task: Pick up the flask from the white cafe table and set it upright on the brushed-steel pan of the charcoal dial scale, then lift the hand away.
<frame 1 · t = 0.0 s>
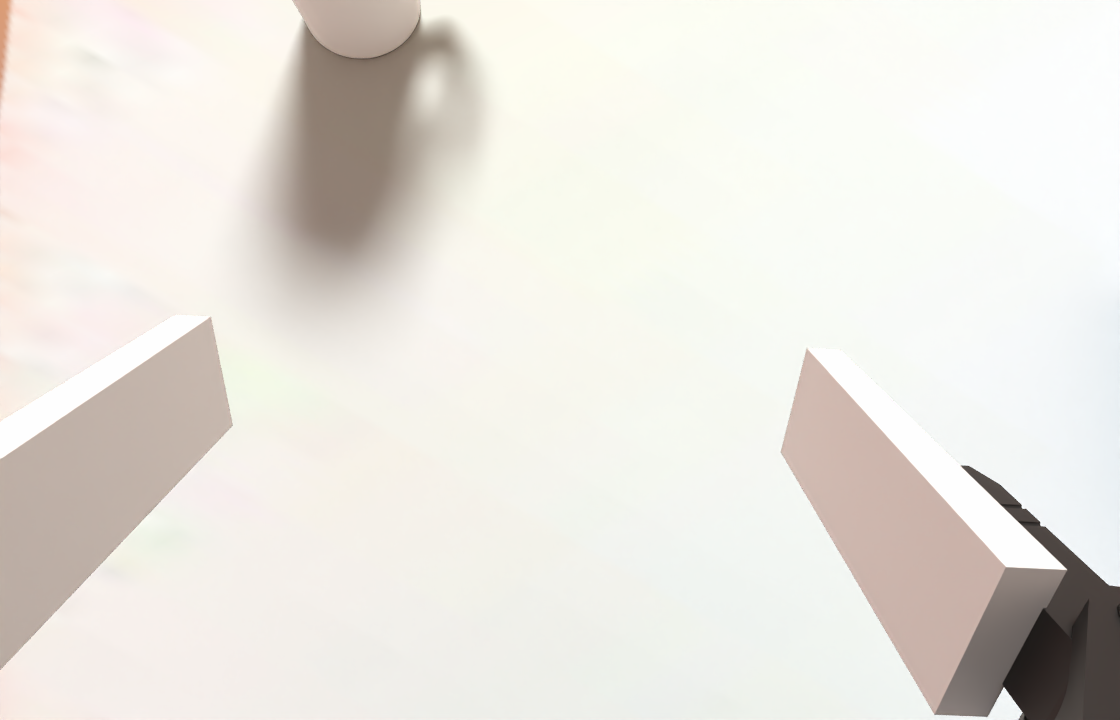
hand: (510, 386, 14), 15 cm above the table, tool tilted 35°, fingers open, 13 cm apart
mug: (393, 3, 33), on the table
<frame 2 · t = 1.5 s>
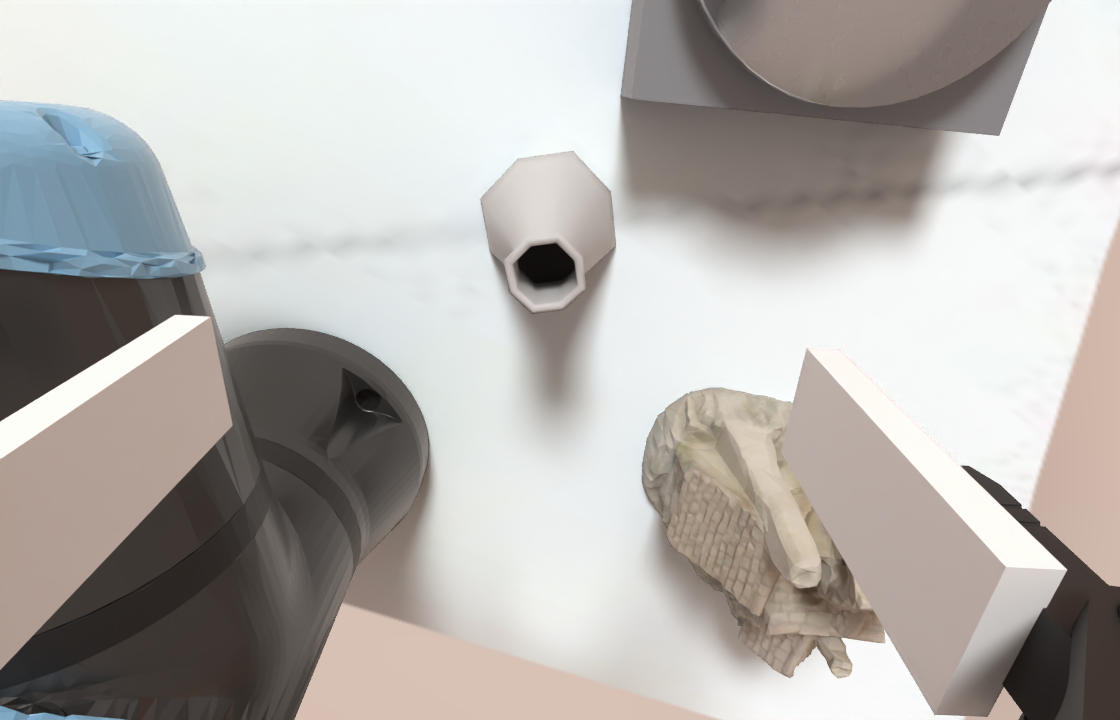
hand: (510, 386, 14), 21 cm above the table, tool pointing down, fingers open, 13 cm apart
flask: (549, 220, 33), on the table
ceramic cottage: (744, 494, 41), on the table
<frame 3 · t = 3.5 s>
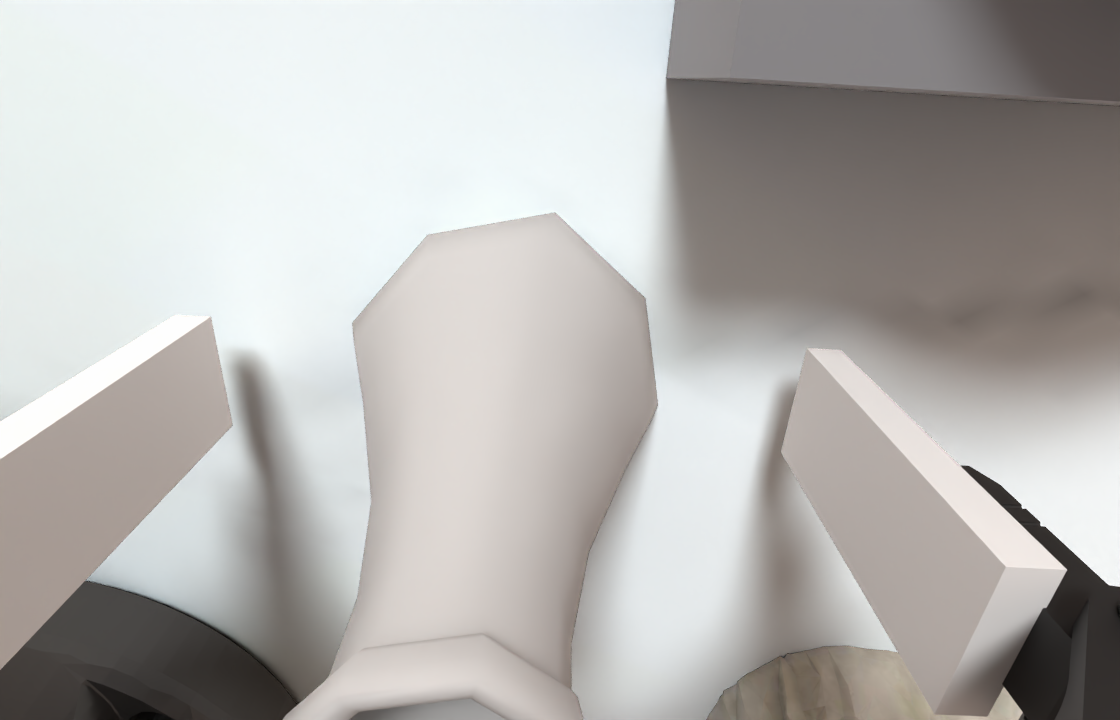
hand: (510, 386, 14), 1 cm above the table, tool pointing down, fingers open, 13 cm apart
flask: (511, 356, 15), on the table
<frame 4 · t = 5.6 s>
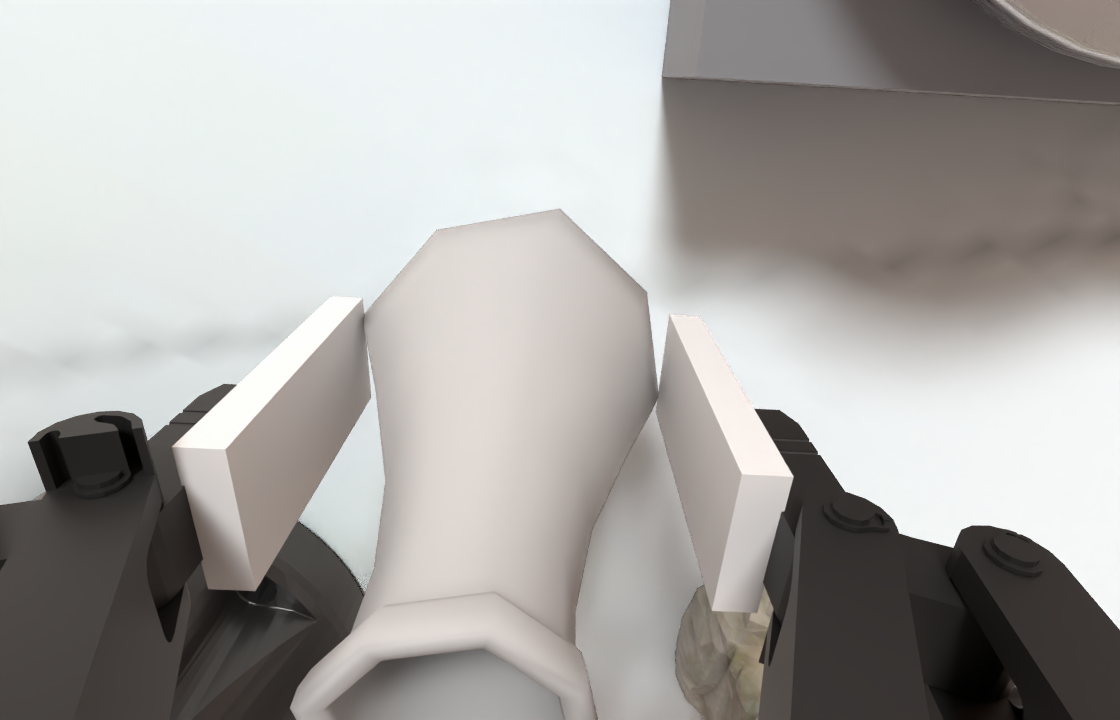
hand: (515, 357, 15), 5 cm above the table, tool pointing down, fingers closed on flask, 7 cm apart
flask: (516, 348, 16), point 4 cm above the table, touching gripper
ceramic cottage: (831, 684, 27), on the table
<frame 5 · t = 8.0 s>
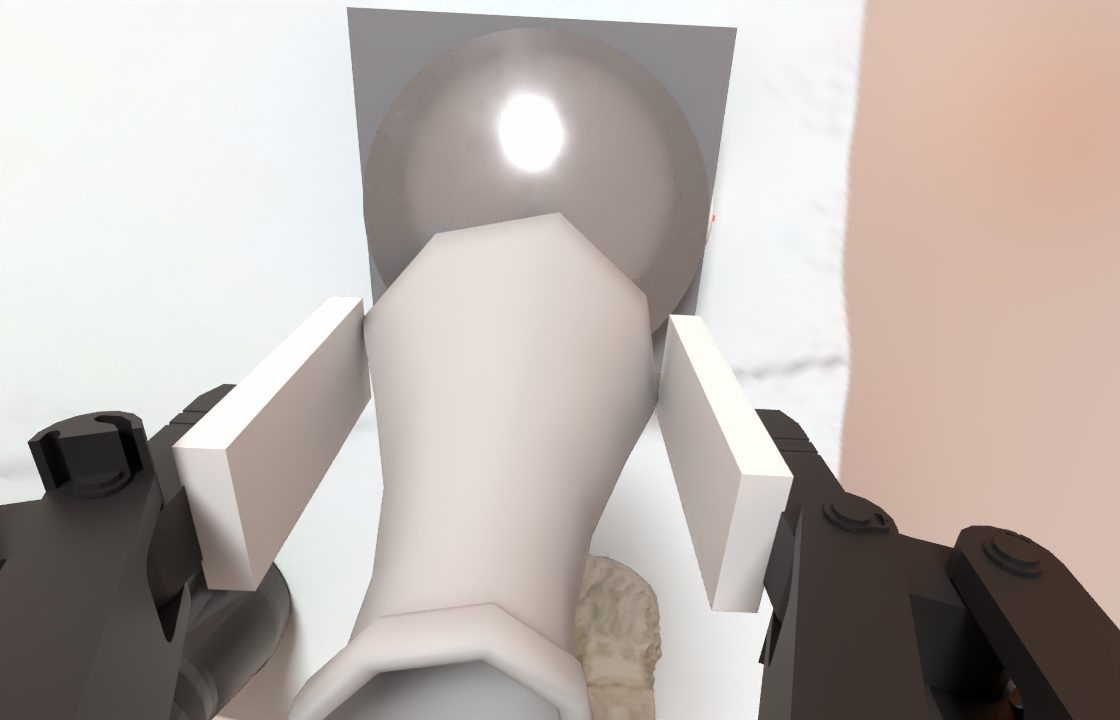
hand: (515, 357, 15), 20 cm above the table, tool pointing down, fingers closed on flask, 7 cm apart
scale pan: (537, 220, 27), point 6 cm above the table, slide at -1.0 cm
flask: (516, 352, 16), point 19 cm above the table, touching gripper
ceramic cottage: (555, 625, 46), on the table
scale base: (540, 196, 33), on the table
when the fingers open (9 cm above the table, at t = 10.8 s): flask drops 2 cm, resting on scale pan.
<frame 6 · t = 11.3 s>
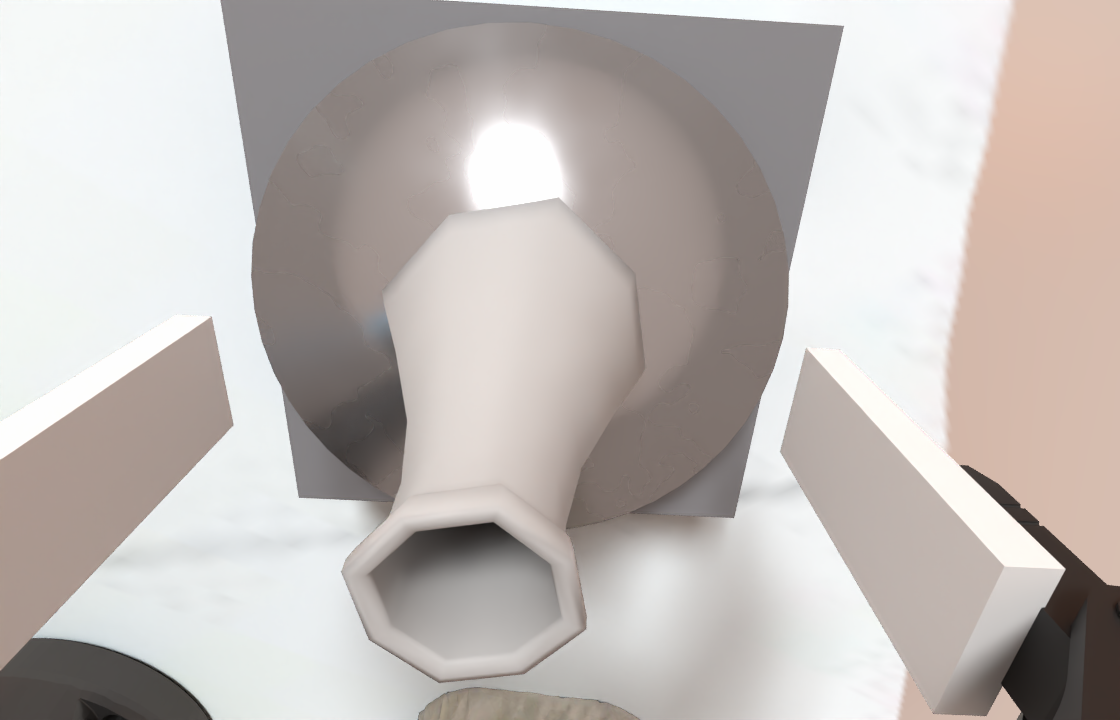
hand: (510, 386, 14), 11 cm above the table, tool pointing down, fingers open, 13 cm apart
scale pan: (522, 317, 18), point 6 cm above the table, slide at -1.1 cm, touching flask
flask: (518, 324, 17), point 7 cm above the table, touching scale pan
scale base: (532, 258, 23), on the table
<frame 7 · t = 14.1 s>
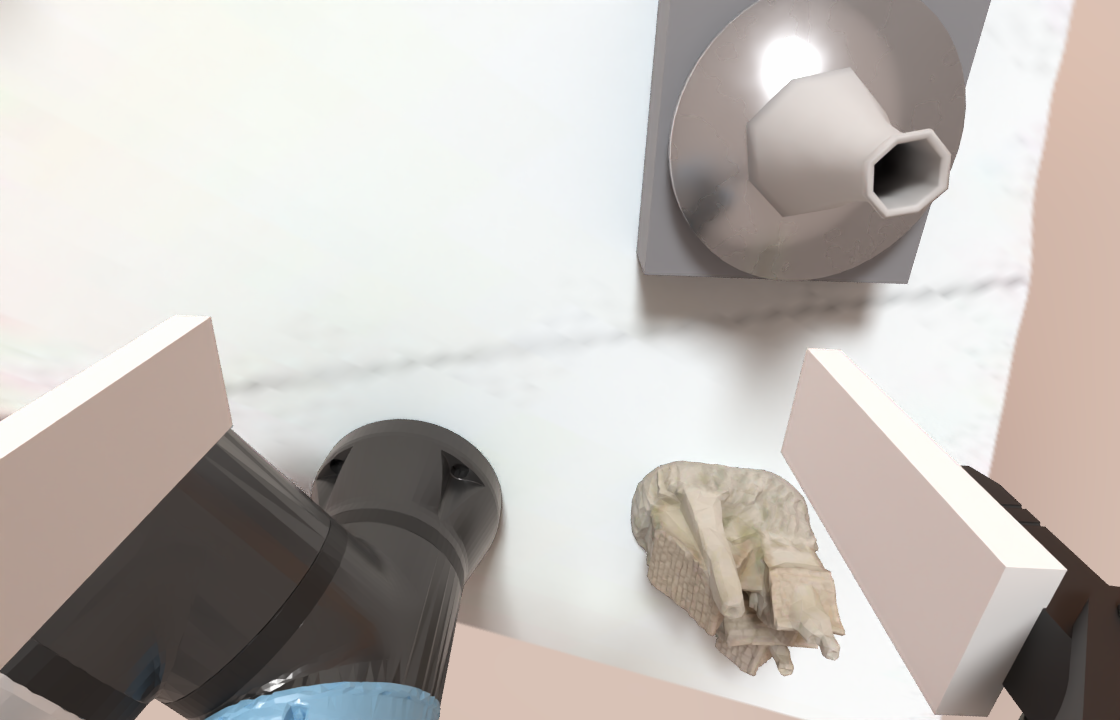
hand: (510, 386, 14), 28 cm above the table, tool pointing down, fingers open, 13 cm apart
scale pan: (811, 142, 32), point 6 cm above the table, slide at -1.0 cm, touching flask
flask: (811, 145, 32), point 7 cm above the table, touching scale pan
ceramic cottage: (713, 535, 52), on the table
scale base: (775, 131, 38), on the table
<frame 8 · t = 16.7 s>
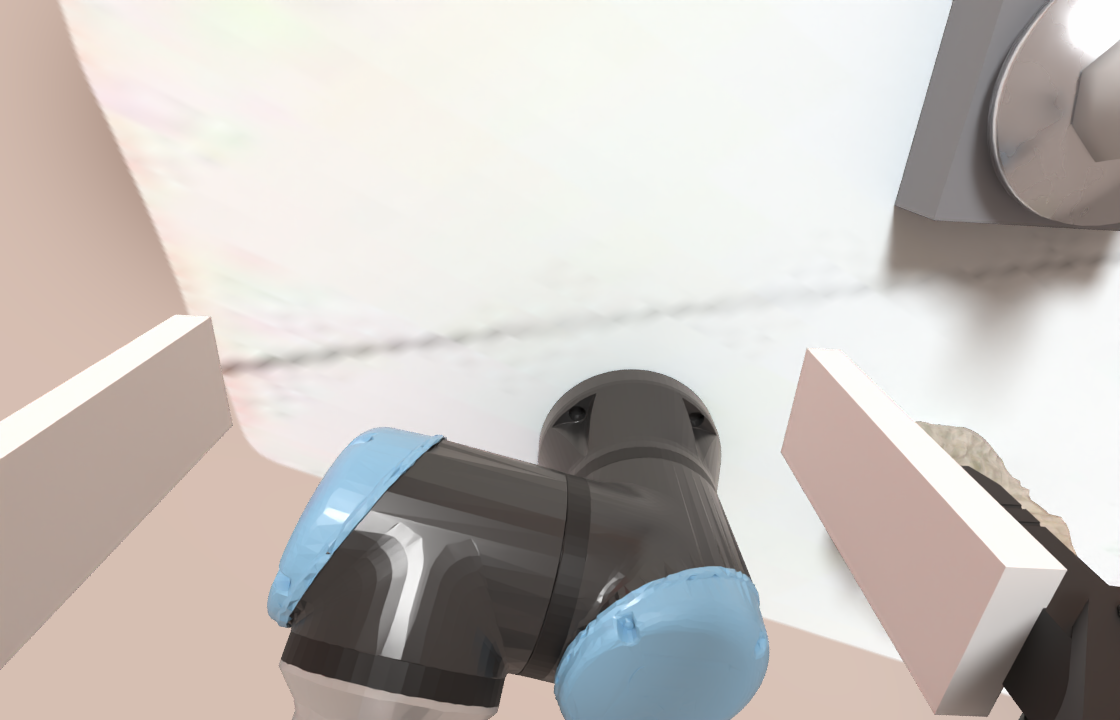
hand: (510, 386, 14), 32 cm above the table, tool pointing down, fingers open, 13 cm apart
ceramic cottage: (902, 493, 54), on the table
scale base: (1049, 89, 40), on the table
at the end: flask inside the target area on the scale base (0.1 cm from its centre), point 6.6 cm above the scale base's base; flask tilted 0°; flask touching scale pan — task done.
